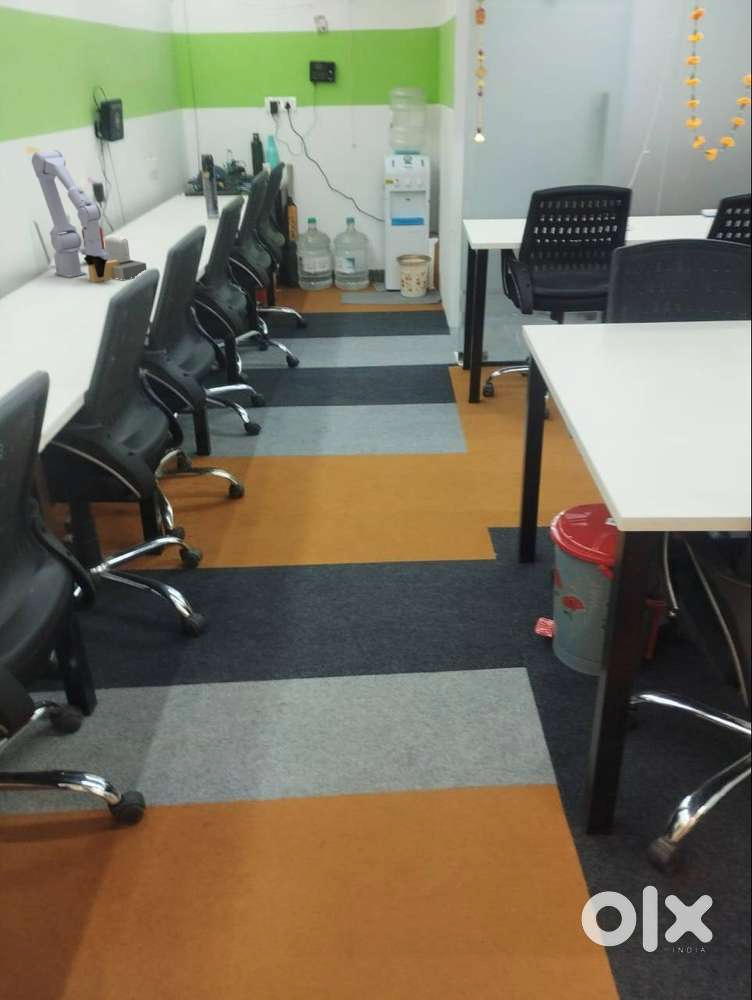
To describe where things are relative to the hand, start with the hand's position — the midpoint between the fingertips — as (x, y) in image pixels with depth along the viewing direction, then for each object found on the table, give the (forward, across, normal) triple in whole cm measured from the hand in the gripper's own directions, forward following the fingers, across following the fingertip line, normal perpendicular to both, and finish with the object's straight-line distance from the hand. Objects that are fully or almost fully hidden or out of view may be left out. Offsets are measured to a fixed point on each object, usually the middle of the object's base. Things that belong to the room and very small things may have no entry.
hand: (98, 276), depth 316 cm
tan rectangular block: (+2, 0, -3) cm, 3 cm away
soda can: (+2, +25, -17) cm, 30 cm away
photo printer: (+2, +13, -19) cm, 23 cm away
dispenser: (+2, 0, -12) cm, 12 cm away
